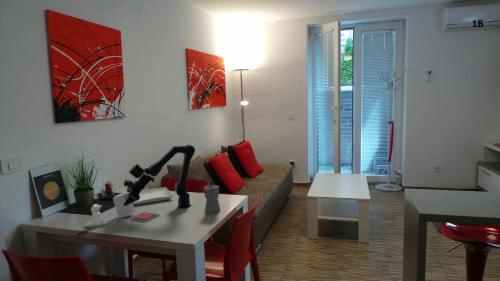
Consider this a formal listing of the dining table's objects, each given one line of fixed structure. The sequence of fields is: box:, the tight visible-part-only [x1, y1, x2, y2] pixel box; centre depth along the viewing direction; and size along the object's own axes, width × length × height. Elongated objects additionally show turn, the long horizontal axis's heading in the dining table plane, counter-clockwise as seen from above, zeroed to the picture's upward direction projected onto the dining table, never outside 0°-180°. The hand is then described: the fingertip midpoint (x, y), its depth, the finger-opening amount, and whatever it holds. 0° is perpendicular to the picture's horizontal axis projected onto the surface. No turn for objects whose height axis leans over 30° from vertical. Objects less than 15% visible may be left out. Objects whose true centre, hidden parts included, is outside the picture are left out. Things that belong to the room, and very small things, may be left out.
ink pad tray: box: [128, 211, 160, 223], centre depth 203 cm, size 12×12×1 cm
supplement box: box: [112, 191, 136, 219], centre depth 206 cm, size 7×7×13 cm
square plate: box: [133, 187, 174, 206], centre depth 243 cm, size 27×27×4 cm
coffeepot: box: [203, 181, 221, 215], centre depth 208 cm, size 15×9×18 cm, turn 13°
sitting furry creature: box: [84, 203, 105, 228], centre depth 194 cm, size 10×9×12 cm
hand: (123, 203), depth 206 cm, fingers closed on supplement box, 9 cm apart
